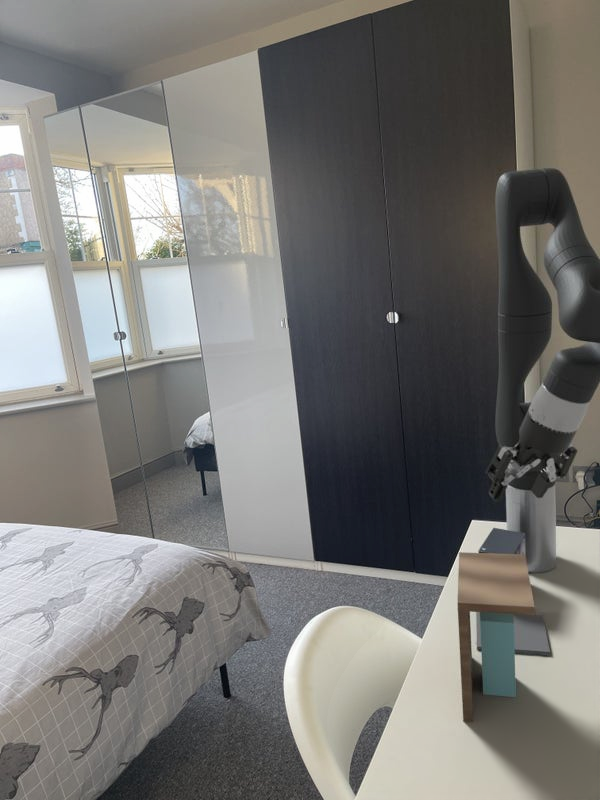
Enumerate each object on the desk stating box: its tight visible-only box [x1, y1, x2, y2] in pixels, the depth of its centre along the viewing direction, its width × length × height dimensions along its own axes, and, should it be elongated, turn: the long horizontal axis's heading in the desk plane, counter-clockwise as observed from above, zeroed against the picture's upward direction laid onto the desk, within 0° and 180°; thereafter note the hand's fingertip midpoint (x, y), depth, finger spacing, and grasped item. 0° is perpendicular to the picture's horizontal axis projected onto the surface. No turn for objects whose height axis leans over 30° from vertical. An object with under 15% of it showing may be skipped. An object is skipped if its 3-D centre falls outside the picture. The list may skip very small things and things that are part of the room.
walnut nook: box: [457, 551, 536, 723], centre depth 86 cm, size 14×10×18 cm
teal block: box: [480, 612, 517, 698], centre depth 88 cm, size 4×4×12 cm
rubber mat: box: [475, 612, 551, 656], centre depth 101 cm, size 10×11×1 cm
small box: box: [477, 527, 525, 554], centre depth 112 cm, size 11×6×10 cm, turn 148°
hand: (515, 496), depth 100 cm, fingers open, 8 cm apart
